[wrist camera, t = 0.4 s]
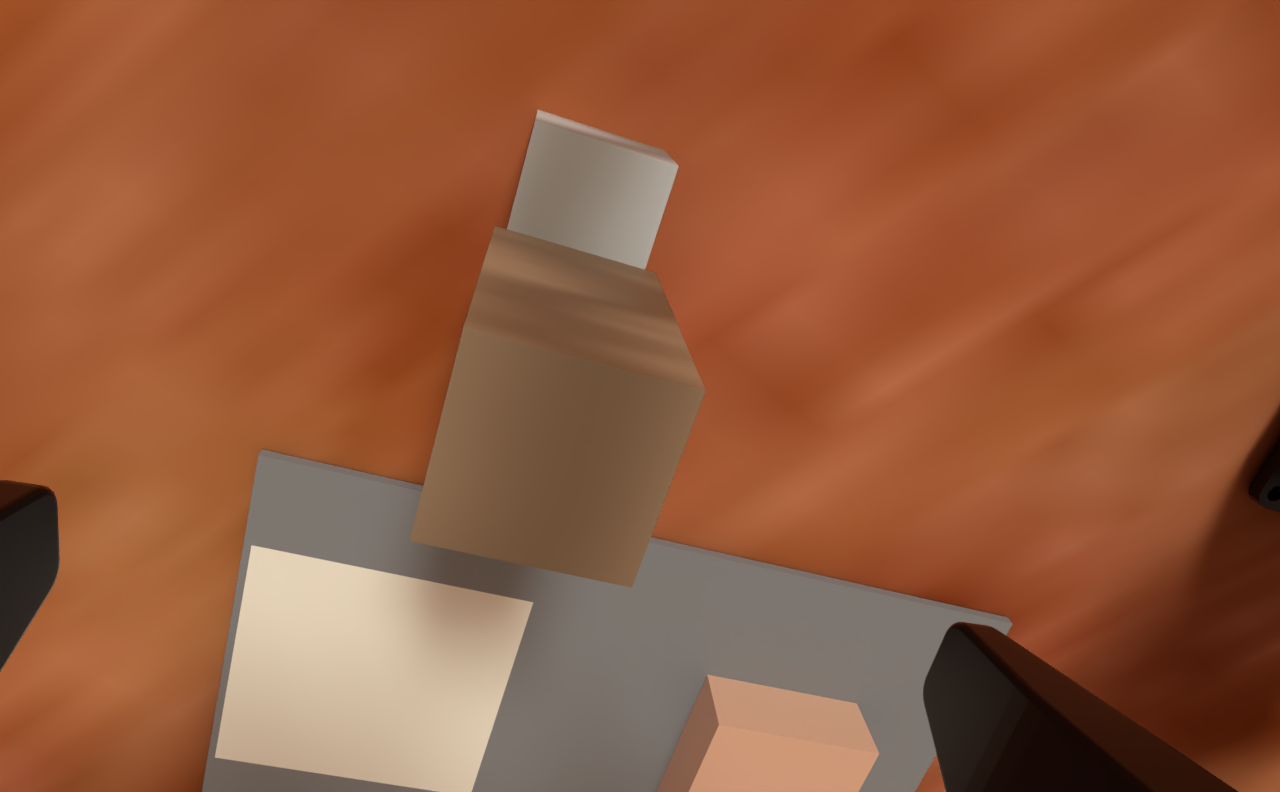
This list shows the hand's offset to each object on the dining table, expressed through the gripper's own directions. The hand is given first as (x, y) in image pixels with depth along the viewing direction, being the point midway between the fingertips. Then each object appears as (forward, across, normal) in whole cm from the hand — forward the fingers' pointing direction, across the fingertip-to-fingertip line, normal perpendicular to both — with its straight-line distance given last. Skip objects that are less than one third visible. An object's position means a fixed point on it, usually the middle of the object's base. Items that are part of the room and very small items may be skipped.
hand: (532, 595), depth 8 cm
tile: (+13, -9, +14) cm, 21 cm away
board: (+13, -4, +14) cm, 19 cm away
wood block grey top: (+13, 0, +1) cm, 13 cm away
